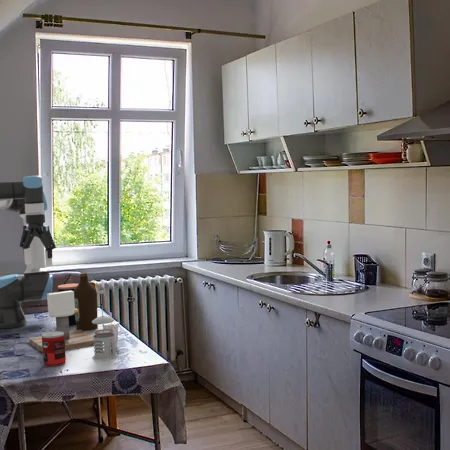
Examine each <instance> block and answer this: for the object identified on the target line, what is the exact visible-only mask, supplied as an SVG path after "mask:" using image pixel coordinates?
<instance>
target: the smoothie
mask: <svg viewBox="0 0 450 450" xmlns="http://www.w3.org/2000/svg"><path fill="white" fill-rule="evenodd" d="M109 316H110V317H111V318H113V317H112V312H109ZM112 325H113V326H115V328H116V329H115V328H114V327H113V326H112ZM108 326H110V327H111V328H112V330H113V332H114V335H115V343H116V344H115V349H117V348H118V340H119V339H118V340H117V333H118V334H119V327H120V322H119V321H113V322H111V323H107V324H104V329H108ZM110 327H109V329H111V328H110ZM116 330H117V332H116ZM113 332H112V333H113ZM111 338H112V337H110V339H111ZM116 341H117V342H116ZM110 342H112V340H111V341H110ZM110 345H111V344H110ZM111 349H112V347H111Z"/></svg>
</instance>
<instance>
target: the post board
mask: <svg viewBox="0 0 450 450" xmlns="http://www.w3.org/2000/svg"><path fill="white" fill-rule="evenodd" d="M55 326H56V331H60V332H64V337H65V351H69V350H74V349H75V350H76V349H80V348H85V347H90V346H91V347H92V346H94V343H95V342H94V340H93V336H94V335H92V334H90V333H87V331H82V330H77V329H76V330H72V331H70V326H69V318H68V316H65V317H55ZM28 342H29V345H32V346H33V347H34V348H36V349H37V350H38V351H39V352H41V353H43V349H42V335H41V336H40V335H39V336H35V337H29V338H28Z"/></svg>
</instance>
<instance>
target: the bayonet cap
mask: <svg viewBox="0 0 450 450" xmlns="http://www.w3.org/2000/svg"><path fill="white" fill-rule="evenodd" d="M46 300H47V312H48V316H49V317H50V318H56V317H65V316H70V315H73V314H75V313H76V312H78V309H75V302H74V291H64V292H58V291H57V292H52V293H49V294H47V299H46Z"/></svg>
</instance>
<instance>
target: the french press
mask: <svg viewBox="0 0 450 450" xmlns="http://www.w3.org/2000/svg"><path fill="white" fill-rule="evenodd" d="M104 293H105V292H104V290H99V291H98V294H99V295H100V301H101V302H100V303H103V295H104ZM101 314H102V315H101V316H97V318H96V319H94V320H93V321H92V323H93V324H98V325H102V329H101V328H100V329H97V330H96V329H95V331H94V332H93V333H94V335H92V336H93V340H94V342H95V343H94V345H93V346H94V347H93V351H94V355H93V356H92V357H91V359H92V360H94V361H97V362H99V361H100V362H103V361H111V360H114V359H116V358H118V357H119V354H118V353H117V351H116V348H115V344H116V343H115V335H114V332H113V330H112V328H111V327H110V326H108V329H104V324H107V323H111V322H115V321H114V320H115V319H114V318H113V317H112V318H111V317H109V316H105V315H104V312H103V306H101ZM112 326H113V325H112ZM109 327H110V328H111V329H109ZM113 327H114V328H115V326H113ZM115 329H116V328H115ZM112 332H113V333H112ZM116 332H117V330H116ZM118 336H119V332H118V333H117V340H119V339H118V338H119V337H118ZM110 337H112V338H111V339H110ZM111 340H112V342H110V341H111ZM116 342H117V341H116ZM117 343H118V342H117ZM110 344H111V345H110ZM111 347H112V349H111Z"/></svg>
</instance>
